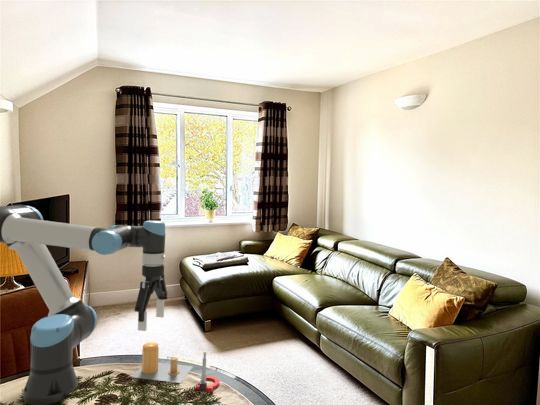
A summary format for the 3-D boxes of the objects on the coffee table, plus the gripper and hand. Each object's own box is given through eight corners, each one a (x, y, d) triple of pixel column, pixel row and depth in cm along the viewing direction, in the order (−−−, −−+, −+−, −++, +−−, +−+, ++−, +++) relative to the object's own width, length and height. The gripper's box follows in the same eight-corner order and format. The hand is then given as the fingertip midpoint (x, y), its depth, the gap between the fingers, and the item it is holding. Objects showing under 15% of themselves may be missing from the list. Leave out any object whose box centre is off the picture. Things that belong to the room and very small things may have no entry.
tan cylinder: (139, 372, 130) (140, 347, 130) (146, 365, 135) (147, 341, 135) (153, 374, 129) (154, 349, 129) (160, 367, 134) (160, 343, 134)
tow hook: (199, 378, 132) (190, 390, 123) (201, 341, 132) (192, 351, 123) (222, 380, 130) (214, 393, 121) (223, 344, 131) (216, 354, 121)
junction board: (130, 381, 127) (131, 362, 127) (147, 365, 139) (147, 348, 138) (180, 387, 124) (181, 368, 124) (193, 370, 136) (193, 353, 136)
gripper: (146, 272, 118) (144, 337, 119) (177, 258, 143) (175, 312, 143) (124, 270, 119) (122, 335, 120) (159, 257, 144) (157, 311, 144)
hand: (151, 323), depth 131 cm, fingers open, 13 cm apart
